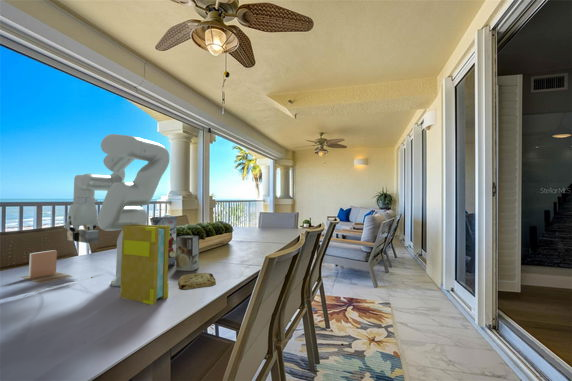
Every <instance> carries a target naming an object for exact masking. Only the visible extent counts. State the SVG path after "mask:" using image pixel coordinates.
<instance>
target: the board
mask: <svg viewBox="0 0 572 381" xmlns="http://www.w3.org/2000/svg"><path fill="white" fill-rule="evenodd" d="M71 277H73V275H71V274H65V273H61V272H59V271H56V273H54V274H49V275H45V276H40V277H35V278H29V275H24V276H21V278H22V279H25V280H29V281H32V282H33V283H34V282H35V283H38V284H45V283H51V282H54V281H58V280H62V279H67V278H71Z"/></svg>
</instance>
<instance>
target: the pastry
mask: <svg viewBox="0 0 572 381" xmlns="http://www.w3.org/2000/svg"><path fill="white" fill-rule="evenodd" d="M177 281H178V286H179V287H178V288H179V289H180V290H190V289H199V288H206V287H212V286H215V285H216V284H217V282H216V281H217V280H216V278H215V277H214V274H213V273H209V272H199V273H198V272H197V273H191V274H184V275H181V276H180V277H179V278H178V280H177Z"/></svg>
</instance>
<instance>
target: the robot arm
mask: <svg viewBox="0 0 572 381" xmlns="http://www.w3.org/2000/svg"><path fill="white" fill-rule="evenodd" d="M100 148H101V151H102V152H103V153H105V154H106V155H105V156H104V158H103V161H102V162H103V164H104V166H105V168H107V169H108V170H109V171H111V172H112V173H111V174H109V175H107V174H106V175H105V174H98V173H97V174H96V173H85V174H77V175H75V176H74V177H73V178H74V179H73V180H74V181H73V182H74V183H73V200H72V203H71V204H70V205H69V209H68V214H67V219H66V220H67V221H66V222H65V223H64V225H63V228H64V229H67V230H68V229H69V230H70V231H71V232H72V233H73V240H74V241H73V242H76V243H77V242H78V241H79V233H78V229H80V227H82V226H86V229H87V230H95V229H96V228H97V227H99V229H101V230H103V231H106V232H110V231H111V232H112V231H120V233H119V235H118V237H117V239H116V256H115V259H116V261H115V262H116V264H115V268H116V269H115V278H113V279H111V281H110V286H113V287H116V288H117V287H120V288H121V263H122V234H123V225H134V224H140V225H147V222H148V217H149V216H148V212H147V210H146V209H145V208H143V206H147V205H148V204H150V203H151V201H152V200H153V197H154V195H155V192H156V190H157V189H158V186H159V183H160V181H161V179H162V177H163V175H164V174H165V172H166V171H167V169H168V166H169V164H170V160H171V159H170V158H171V157H170V153H169V150H168V149H167V147H166V146H164V145H162V144H160V143H159V142H155V141H152V140H148V139H144V138H141V137H136V136H132V135H128V134H127V135H125V134H115V133H110V134H107V135H106V136H104V137H103V138H102V140H101V141H100ZM135 160H137V161H143V162H144V161H146V162H147V163H146V164H144V165H143V166H141V168H140V169H139V170H138V171H137V173H136V175H135V178H134V180H133V181H125V177H126V171H125V169H127V168H128V167H129V166H130V165H131V163H132V162H134V161H135ZM95 191H103V192H106V193H105V194H106V195H105V197H104V198H103V201H102V204H101V207H100V209H99V211H98V210H97V205H96V204H95V203H96V202H98V199H97V198H95ZM78 243H79V242H78Z"/></svg>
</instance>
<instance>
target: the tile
mask: <svg viewBox="0 0 572 381" xmlns="http://www.w3.org/2000/svg"><path fill="white" fill-rule="evenodd" d="M57 258H58V250H56V249H53V250H45V251H39V252H32V253H29V259H28V260H29V261H28V262H29V263H28V276H29V278H35V277H40V276H45V275H49V274H54V273H56V272H57Z"/></svg>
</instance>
